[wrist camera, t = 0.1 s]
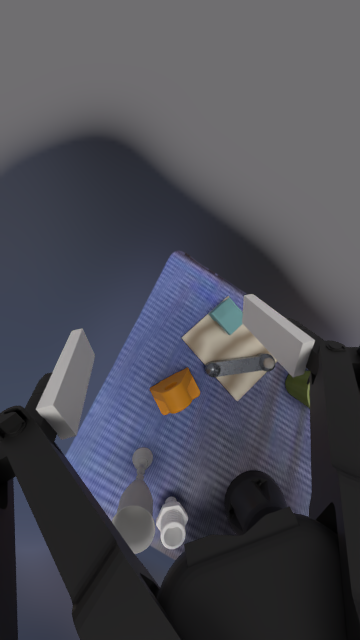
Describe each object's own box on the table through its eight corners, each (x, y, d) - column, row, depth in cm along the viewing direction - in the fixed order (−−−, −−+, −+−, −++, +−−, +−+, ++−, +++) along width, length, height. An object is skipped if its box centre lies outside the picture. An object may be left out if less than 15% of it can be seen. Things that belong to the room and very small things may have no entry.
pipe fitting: (155, 492, 48) (154, 523, 40) (184, 487, 49) (189, 516, 41) (157, 519, 48) (157, 556, 40) (186, 514, 48) (191, 549, 40)
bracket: (163, 412, 50) (164, 436, 38) (150, 386, 50) (147, 402, 38) (199, 391, 51) (211, 408, 39) (187, 366, 51) (195, 376, 40)
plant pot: (324, 383, 55) (366, 395, 44) (296, 414, 53) (333, 434, 42) (296, 352, 55) (331, 357, 44) (268, 382, 53) (297, 394, 42)
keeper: (240, 320, 52) (248, 318, 48) (224, 335, 52) (230, 335, 47) (222, 300, 52) (229, 297, 48) (206, 315, 51) (211, 313, 47)
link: (268, 352, 52) (273, 352, 50) (270, 368, 52) (276, 370, 49) (203, 360, 50) (205, 361, 48) (205, 377, 50) (207, 380, 47)
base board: (278, 356, 54) (290, 358, 49) (235, 399, 52) (243, 406, 47) (226, 297, 54) (233, 293, 49) (181, 337, 52) (183, 338, 47)
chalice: (162, 459, 49) (164, 531, 31) (141, 479, 48) (130, 564, 30) (144, 437, 49) (135, 495, 31) (122, 456, 48) (100, 527, 30)
